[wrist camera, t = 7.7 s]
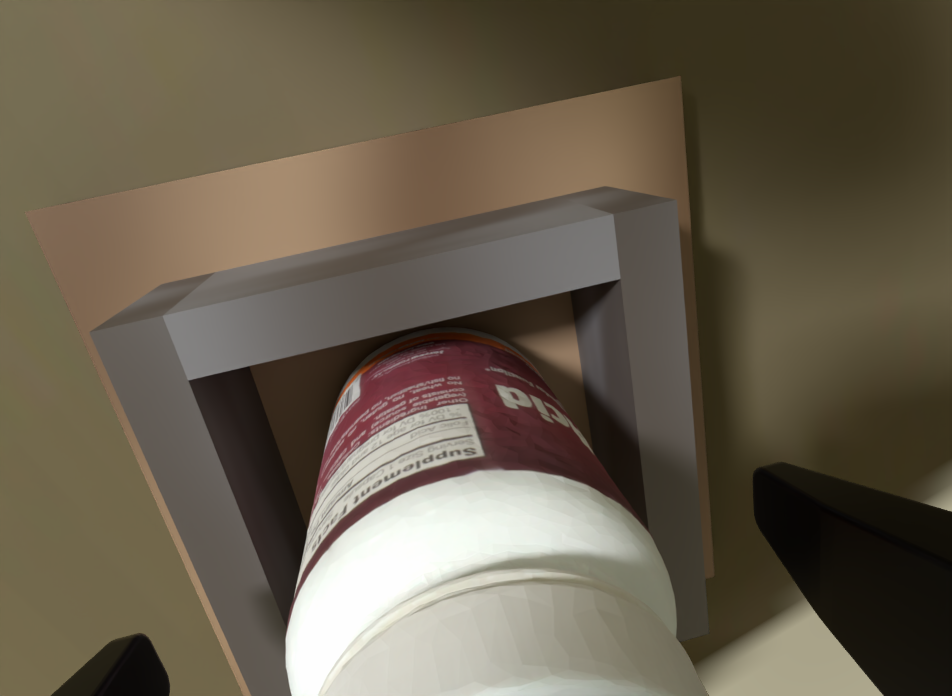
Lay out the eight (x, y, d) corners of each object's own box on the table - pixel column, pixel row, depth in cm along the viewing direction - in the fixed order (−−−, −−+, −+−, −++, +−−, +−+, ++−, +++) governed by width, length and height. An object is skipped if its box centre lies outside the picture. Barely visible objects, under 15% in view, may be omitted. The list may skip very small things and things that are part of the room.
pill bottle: (588, 448, 14) (868, 870, 6) (411, 556, 14) (450, 1099, 6) (480, 274, 12) (665, 534, 4) (281, 402, 12) (98, 875, 4)
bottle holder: (662, 79, 12) (780, 54, 9) (699, 556, 16) (789, 672, 13) (48, 207, 11) (-106, 237, 8) (255, 679, 15) (218, 842, 12)
